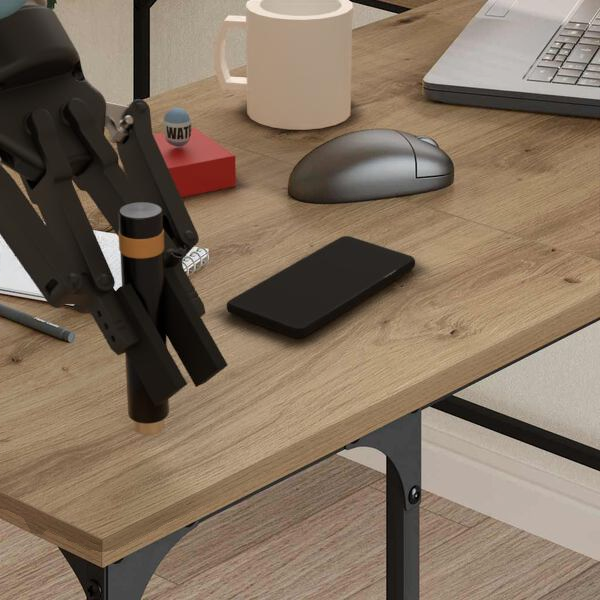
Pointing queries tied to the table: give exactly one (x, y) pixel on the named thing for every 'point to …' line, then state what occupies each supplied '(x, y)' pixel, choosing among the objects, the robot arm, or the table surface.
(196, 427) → the table surface
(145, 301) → the marker
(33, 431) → the table surface
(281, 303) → the smartphone
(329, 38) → the mug
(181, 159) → the red rectangular block
